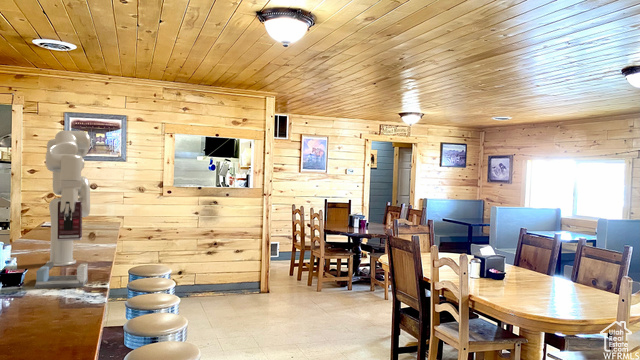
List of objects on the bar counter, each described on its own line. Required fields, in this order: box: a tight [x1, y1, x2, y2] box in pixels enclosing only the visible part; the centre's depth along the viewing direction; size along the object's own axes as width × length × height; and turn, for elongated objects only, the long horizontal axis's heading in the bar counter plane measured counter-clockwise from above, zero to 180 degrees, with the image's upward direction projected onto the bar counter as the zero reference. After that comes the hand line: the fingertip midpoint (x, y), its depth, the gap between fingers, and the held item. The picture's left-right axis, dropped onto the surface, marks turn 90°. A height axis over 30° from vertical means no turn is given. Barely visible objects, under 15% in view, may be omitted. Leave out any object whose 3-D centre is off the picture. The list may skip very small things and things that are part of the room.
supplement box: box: [58, 201, 83, 241], centre depth 195 cm, size 9×5×16 cm, turn 109°
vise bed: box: [34, 263, 89, 289], centre depth 191 cm, size 10×17×8 cm, turn 107°
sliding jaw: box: [35, 262, 54, 283], centre depth 193 cm, size 16×2×5 cm, turn 17°
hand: (69, 228), depth 195 cm, fingers closed on supplement box, 4 cm apart
